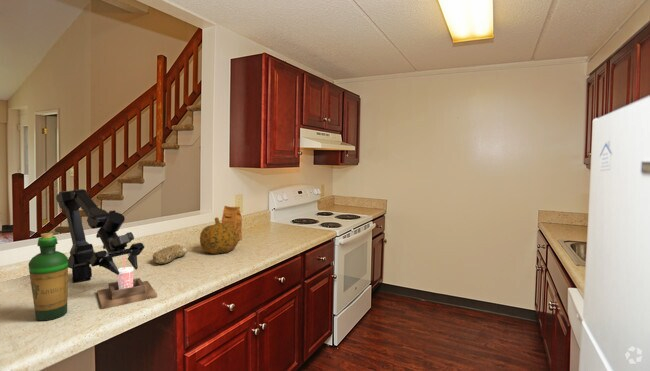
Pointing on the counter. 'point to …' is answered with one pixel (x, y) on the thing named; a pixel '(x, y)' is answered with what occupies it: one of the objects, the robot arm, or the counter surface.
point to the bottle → (49, 279)
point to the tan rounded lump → (169, 254)
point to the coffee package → (233, 218)
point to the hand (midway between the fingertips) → (127, 271)
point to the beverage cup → (125, 276)
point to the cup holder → (125, 293)
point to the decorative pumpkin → (219, 238)
